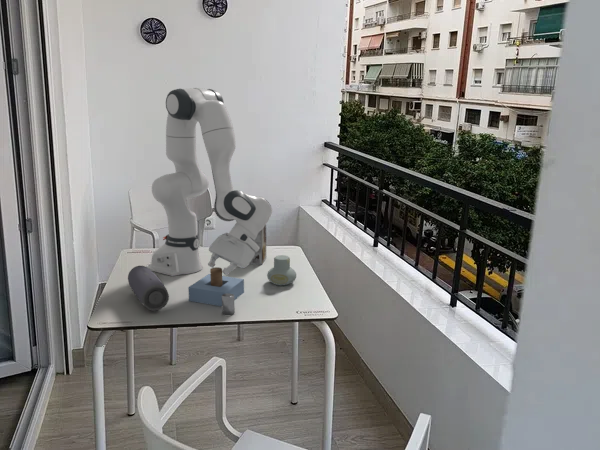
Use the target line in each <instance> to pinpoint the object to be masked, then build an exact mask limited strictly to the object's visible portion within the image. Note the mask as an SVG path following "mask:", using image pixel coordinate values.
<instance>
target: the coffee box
mask: <svg viewBox="0 0 600 450" xmlns="http://www.w3.org/2000/svg"><path fill="white" fill-rule="evenodd" d="M254 241H255V243H256V244H257V245H258V246H259V248H260V249H259V250H258V252H255V255H254V257H253V259H252V260H251V262H250V263H249V264H248V265H259V266H261V265H263V264H264V262H265V261H266V259H267V224H266V225H265V226H264V228H263V229H262V230H261V231H260V232H259V233H258V235H257V237H256V239H255V240H254Z"/></svg>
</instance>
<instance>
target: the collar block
mask: <svg viewBox="0 0 600 450" xmlns="http://www.w3.org/2000/svg"><path fill="white" fill-rule="evenodd" d="M187 288H188V301H189V302H195V303H200V304H206V305H211V306H212V305H213V306H217V307H218V306H219V307H222V295H223V294H227V293H230V294H234V301H235V300H237V298H239V297H240V296H241V295H243V294H244V293H245V279H244V278H238V277H232V276H227V275H226V276H225V275H222V286H221V287H216V286H211V275H210V273H208V274H207V275H205V276H204V277H202V278H200V279H199V280H197V281H195V283H193V284H191V285H189V286H188V287H187Z"/></svg>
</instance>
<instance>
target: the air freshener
mask: <svg viewBox="0 0 600 450" xmlns="http://www.w3.org/2000/svg"><path fill="white" fill-rule="evenodd" d="M290 259H291V258H290V256H288V255H284V254H282V255H276V256H274V258H273V267H271V268H270V269H269V270H268V271H267V273H266V276H267V279H268V281H269V282H270V283H272V284H274V285H277V286H279V287H280V286H281V287H282V286H283V287H284V286H287V285H290V284H292V283H293V282H295V280H296V278H297V272H296V271H295V269H294V268H292V267H291V260H290Z"/></svg>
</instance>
